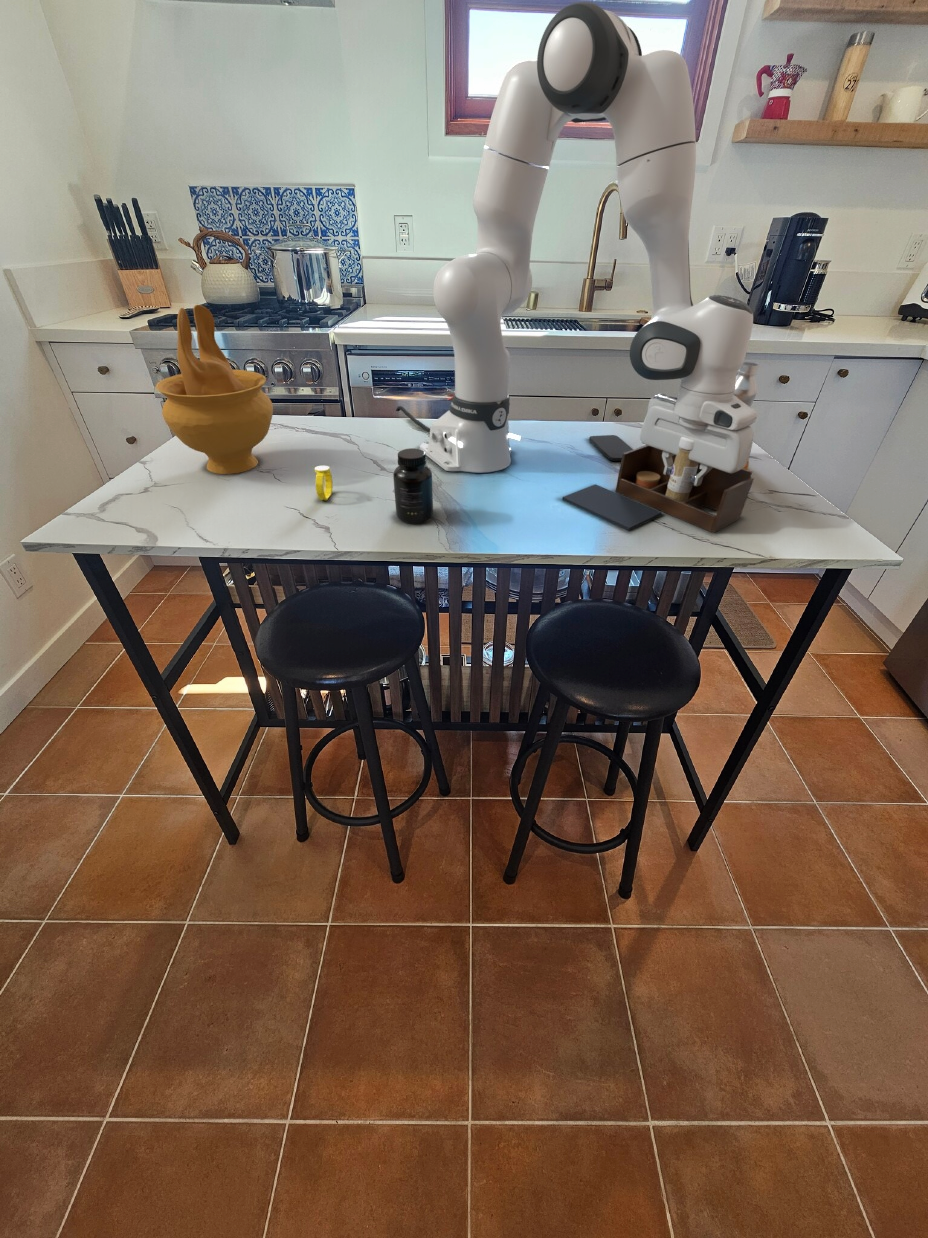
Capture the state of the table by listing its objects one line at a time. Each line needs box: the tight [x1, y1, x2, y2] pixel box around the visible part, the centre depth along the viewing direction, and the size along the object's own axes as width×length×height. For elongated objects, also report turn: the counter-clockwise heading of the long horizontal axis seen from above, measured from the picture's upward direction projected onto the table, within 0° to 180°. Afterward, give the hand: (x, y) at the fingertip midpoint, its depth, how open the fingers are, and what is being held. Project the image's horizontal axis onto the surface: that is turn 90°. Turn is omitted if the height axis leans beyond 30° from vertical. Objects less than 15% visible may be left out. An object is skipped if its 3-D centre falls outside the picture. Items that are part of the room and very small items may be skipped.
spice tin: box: [635, 471, 660, 489], centre depth 110 cm, size 5×5×4 cm
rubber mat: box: [561, 483, 663, 532], centre depth 105 cm, size 16×10×1 cm, turn 40°
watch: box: [314, 465, 333, 501], centre depth 105 cm, size 6×3×6 cm, turn 175°
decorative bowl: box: [155, 304, 274, 475], centre depth 110 cm, size 21×21×30 cm
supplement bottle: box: [392, 447, 434, 525], centre depth 97 cm, size 7×7×12 cm
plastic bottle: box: [734, 361, 760, 408], centre depth 121 cm, size 6×7×20 cm
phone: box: [588, 434, 634, 462], centre depth 129 cm, size 7×1×15 cm
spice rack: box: [614, 444, 755, 534], centre depth 104 cm, size 22×9×9 cm, turn 40°
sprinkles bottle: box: [666, 437, 698, 502], centre depth 103 cm, size 5×5×14 cm
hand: (681, 479), depth 104 cm, fingers closed on sprinkles bottle, 4 cm apart
